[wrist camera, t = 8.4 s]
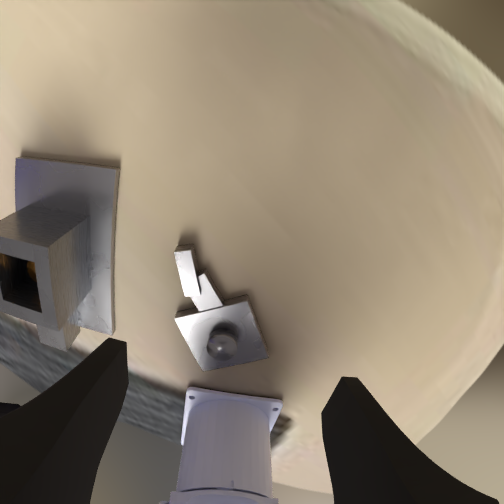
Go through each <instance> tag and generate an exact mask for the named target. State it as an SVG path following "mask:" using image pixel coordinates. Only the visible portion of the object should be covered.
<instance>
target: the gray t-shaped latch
mask: <svg viewBox="0 0 504 504" xmlns="http://www.w3.org/2000/svg"><path fill="white" fill-rule="evenodd" d="M174 255H175V259H176V263H177V267H178V271H179V276H180V280H181V284H182V288H183V292H184V296H185V297H186V296H190V298H191V299H192V301H193V302H194V304H195V305H196V308H192V309H188V310H184V311H180V312H177V313H176V316H175V321H176V323H177V325H178V327H179V329H180V331H181V333H182V334H183V336H184V338H185V340H186V342H187V344H188V346H189V348H190V349H191V351H192V353H193V355H194V357H195V359H196V360H197V362H198V364H199V366H200V368H201V369H202V371H208V370H213V369H218V368H223V367H228V366H233V365H238V364H243V363H248V362H252V361H257V360H261V359H266V358H269V357H268V349H267V346H266V344H265V341H264V338H263V336H262V333H261V330H260V328H259V325H258V322H257V319H256V317H255V314H254V311H253V309H252V306H251V303H250V301H249V298H248V295H243V296H239V297H236V298H232V299H228V300H224V299H223V298H222V296H221V294H220V293H219V291H218V289H217V287H216V286H215V284H214V282H213V281H212V279H211V277H210V276H209V274H208V272H207V270H206V269H204V270H202V271H200V272H199V269H198V264H197V259H196V254H195V250H194V245H193V244H187V245H179V246H177V248H176V249H175V251H174Z"/></svg>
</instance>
